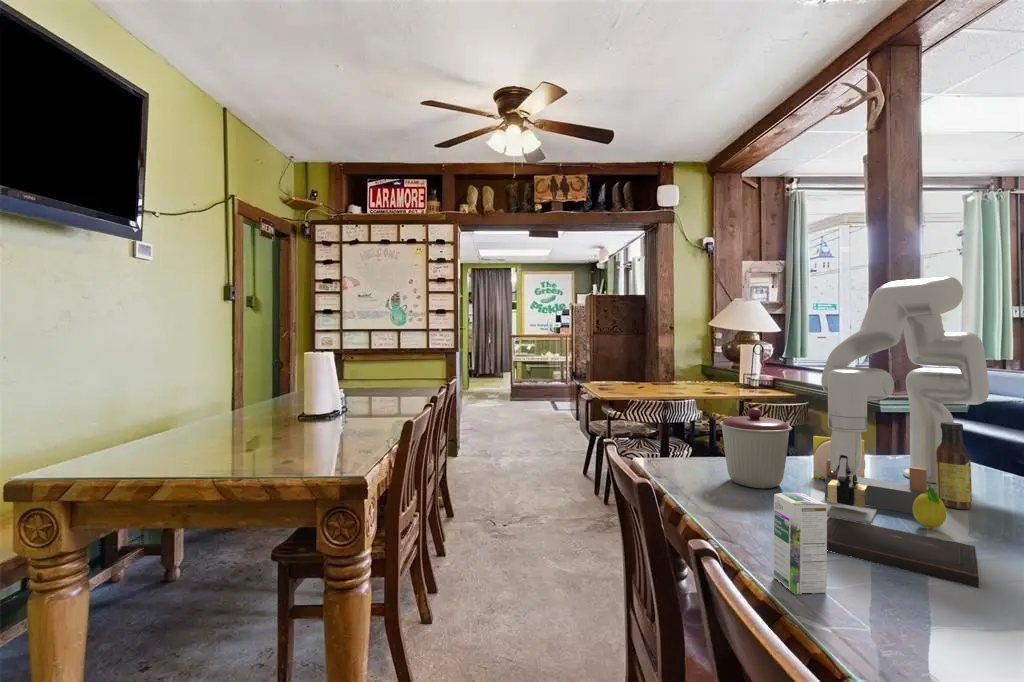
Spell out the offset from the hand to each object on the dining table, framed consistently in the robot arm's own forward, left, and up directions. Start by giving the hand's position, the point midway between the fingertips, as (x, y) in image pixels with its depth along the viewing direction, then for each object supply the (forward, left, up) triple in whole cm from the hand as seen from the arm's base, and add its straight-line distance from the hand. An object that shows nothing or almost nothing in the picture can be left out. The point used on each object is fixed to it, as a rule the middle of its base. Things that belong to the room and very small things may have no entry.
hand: (847, 500), depth 113 cm
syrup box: (+45, 0, -3) cm, 45 cm away
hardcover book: (+19, +10, -4) cm, 22 cm away
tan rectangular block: (0, 0, 0) cm, 0 cm away
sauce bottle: (-22, +18, -3) cm, 29 cm away
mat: (0, 0, -3) cm, 3 cm away
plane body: (-12, +4, -3) cm, 13 cm away
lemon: (0, +15, -3) cm, 15 cm away
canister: (-10, -23, -3) cm, 25 cm away
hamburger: (-27, -6, -3) cm, 28 cm away
